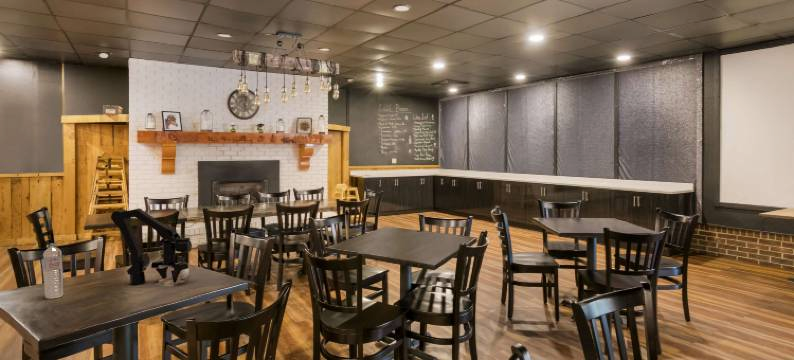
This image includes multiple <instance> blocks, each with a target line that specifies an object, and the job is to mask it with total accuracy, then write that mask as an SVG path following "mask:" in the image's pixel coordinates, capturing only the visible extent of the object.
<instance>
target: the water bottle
mask: <svg viewBox="0 0 794 360" xmlns="http://www.w3.org/2000/svg"><path fill="white" fill-rule="evenodd" d="M42 257H43V280H44V281H43V282H44V283H43V284H44V285H43V286H44V298H45V299H46V300H53V299H58V298H61V297H63V296H64V283H63V282H64V280H63V279H64V278H63V276H64V275H63V264H62V263H63V259H62V250H61V249H60V248H59V247H56V246H55V242H54V243H53V242H51V243H49V247H48V248H46V250H44V252H43V254H42Z"/></svg>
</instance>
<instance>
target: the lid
mask: <svg viewBox="0 0 794 360" xmlns="http://www.w3.org/2000/svg"><path fill="white" fill-rule="evenodd" d="M180 281H182V279H181V277H178V278H177V281H176V283H177V282H180ZM158 283H159V284H160V285H159V286H162V285H172V284H174V281H173V277H172V275H171V276H168V277H167V278H165V279H162V278H161V279H160V280H158Z"/></svg>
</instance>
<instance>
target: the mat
mask: <svg viewBox="0 0 794 360" xmlns="http://www.w3.org/2000/svg"><path fill="white" fill-rule="evenodd" d="M184 282H185V280H181V281H180V282H177V283H174V284H172V285H160V284H159V282H157V283H155V284H154V285H155V286H161V287H173V286H176V285H179V284H182V283H184Z"/></svg>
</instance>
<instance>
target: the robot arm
mask: <svg viewBox="0 0 794 360" xmlns="http://www.w3.org/2000/svg"><path fill="white" fill-rule="evenodd" d="M131 218H132V219H133V218H136V219H137V220H139V221H141V222H142V223H143V224H145V225H147V226H148V227H150V228H151V229H153V230H154V231H155V232H156V234H157V235H158V236H159V237H160V238H161V240H159V241H158V244H162V254H161V255H160V257H162V259H163V260H161V259H159V260H156V261H152V262H150V260H151V258H150V257H149V254H148V252H143V251H142V250H141V247H140V245H139V243H138V240H137V238H136V236H135V233H134V231H133V227H132V226H131V220H132V219H131ZM110 219H111V221H112V223H113V224H114V225H115V226H116V227H117V228H118V229H119V230H120V233H121V235H122V237H123V239H124V242H125V244H126V247H127V249H128V251H129V253H130V263H131V266H130V267H129V268H128V269H127V270H126V272H127V274H128V275H129V281H130V282H129V283H127V285H130V286H141V285H144V284H146V283H147V284H148V281H146V275H145V271H146V270H147V267H149V265H150V264H151V269H155V270H156V271H157V272H158V274H159V275H160V277H161V280H162V279H165V278H168V277H167V276H168V275H167V273H168V269H169V268H173V269H174V270H173V269H171V270H170V272H171V273H172V275H171V276H172V277H173V281H174V283H176V281H177V278H178V276H179V273H180V272H181V270H184V269H187V268H188V269H189V263H187V262H185V259H186V256H182V255H181V256H180V255H179V253H184V252H186V253H190V252H191V251H192V248H193V244H192V241H191V239H190V238H189V237H188V238H182V237H181V235H180V234H179V233H178V231H177V228H176V227H175V226H172V225H169V224H166V223H164V222H161V221H159V220H158V219H157V218H155V217H153V216H152V215H150V214H148V213H147V212H145V211H144V210H143V209H142V208H135V209H129V210H127V209H120V210H119V209H118V210H115V211H113V212H112V213H111V215H110Z"/></svg>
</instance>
